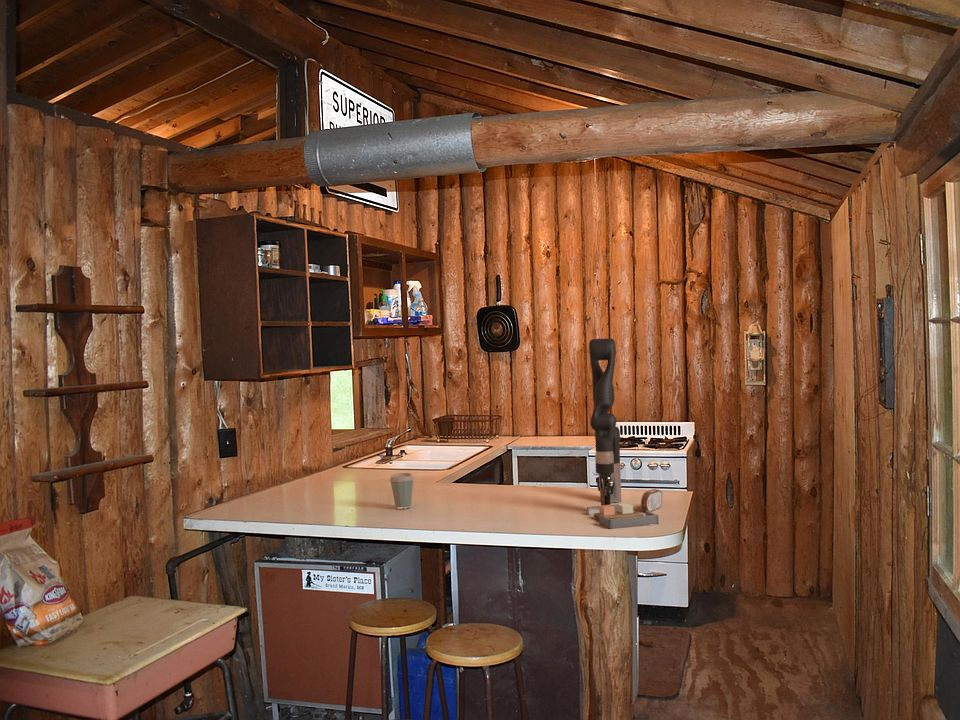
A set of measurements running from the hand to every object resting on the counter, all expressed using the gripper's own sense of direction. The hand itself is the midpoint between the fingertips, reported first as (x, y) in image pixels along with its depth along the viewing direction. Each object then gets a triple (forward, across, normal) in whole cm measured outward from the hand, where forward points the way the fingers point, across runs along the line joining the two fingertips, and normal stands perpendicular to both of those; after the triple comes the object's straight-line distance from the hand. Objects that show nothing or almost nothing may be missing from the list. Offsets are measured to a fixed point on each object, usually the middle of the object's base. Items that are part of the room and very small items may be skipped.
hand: (605, 503), depth 317 cm
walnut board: (+4, +12, 0) cm, 13 cm away
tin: (+4, +2, +20) cm, 21 cm away
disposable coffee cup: (+4, -44, -78) cm, 90 cm away
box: (+4, +22, 0) cm, 22 cm away
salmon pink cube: (+2, +10, -4) cm, 11 cm away
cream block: (+2, +10, +4) cm, 11 cm away
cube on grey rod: (+4, 0, 0) cm, 4 cm away
